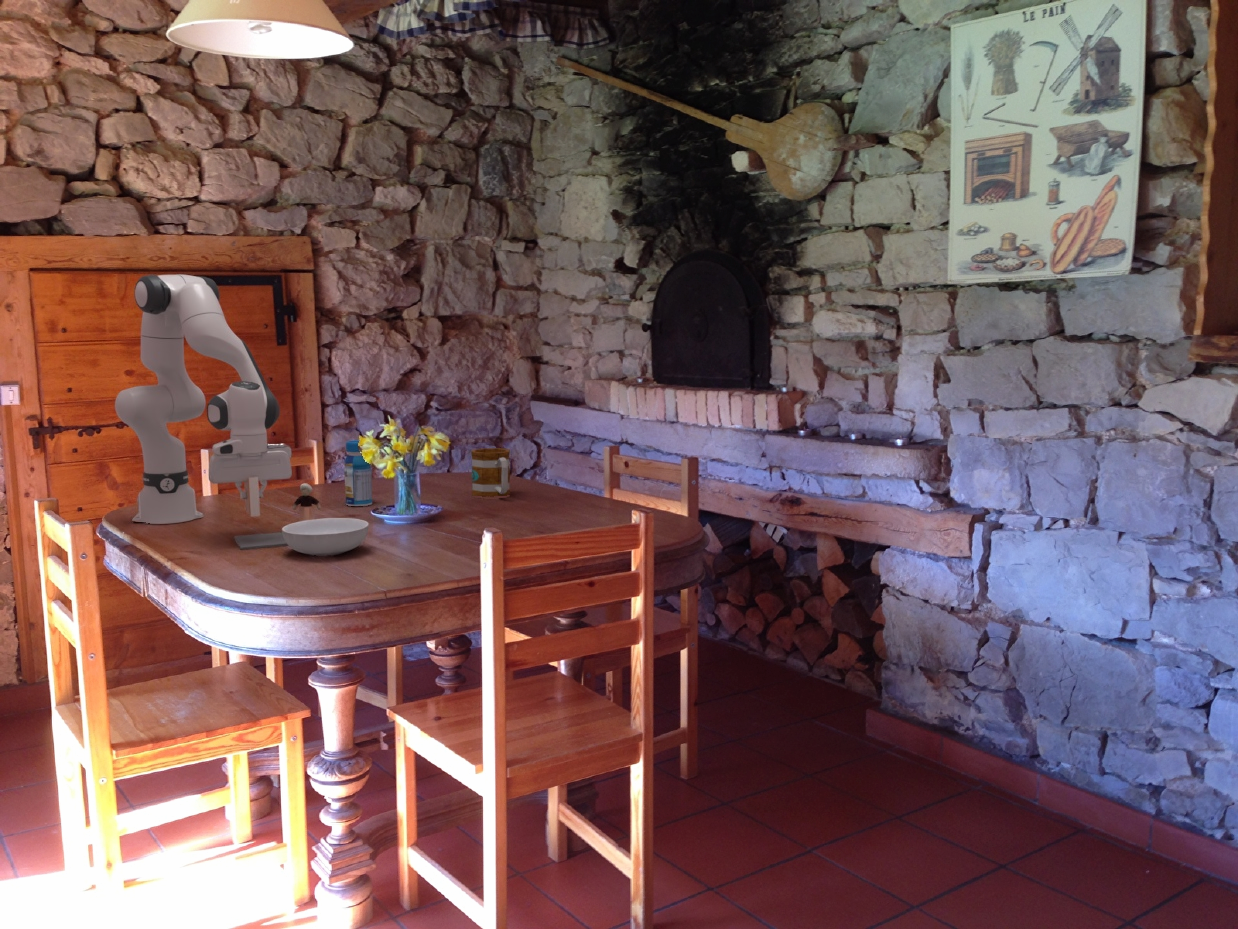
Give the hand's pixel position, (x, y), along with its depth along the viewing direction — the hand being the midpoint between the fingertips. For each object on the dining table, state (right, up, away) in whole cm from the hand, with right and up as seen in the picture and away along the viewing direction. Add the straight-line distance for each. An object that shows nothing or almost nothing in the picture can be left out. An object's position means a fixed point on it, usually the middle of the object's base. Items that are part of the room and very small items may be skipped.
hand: (251, 498), depth 269 cm
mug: (+54, -2, +71) cm, 89 cm away
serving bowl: (+22, -14, -8) cm, 27 cm away
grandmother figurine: (+8, -9, +20) cm, 24 cm away
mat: (+3, -11, +3) cm, 12 cm away
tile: (0, -4, +1) cm, 4 cm away
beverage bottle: (+14, -4, +56) cm, 58 cm away
